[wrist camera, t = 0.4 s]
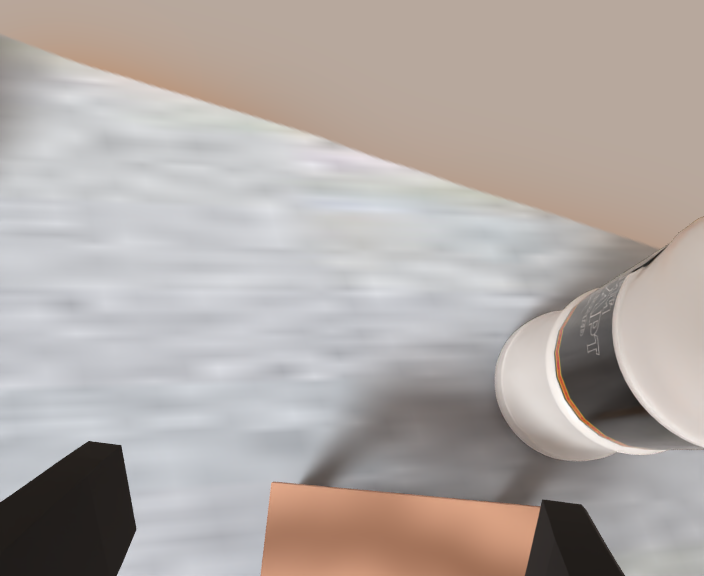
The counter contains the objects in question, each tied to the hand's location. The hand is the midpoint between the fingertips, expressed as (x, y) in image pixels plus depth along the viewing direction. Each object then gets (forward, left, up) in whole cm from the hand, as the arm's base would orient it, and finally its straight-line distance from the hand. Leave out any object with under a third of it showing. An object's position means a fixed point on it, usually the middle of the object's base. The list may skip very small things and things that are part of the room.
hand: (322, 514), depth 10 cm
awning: (-4, -4, -29) cm, 29 cm away
